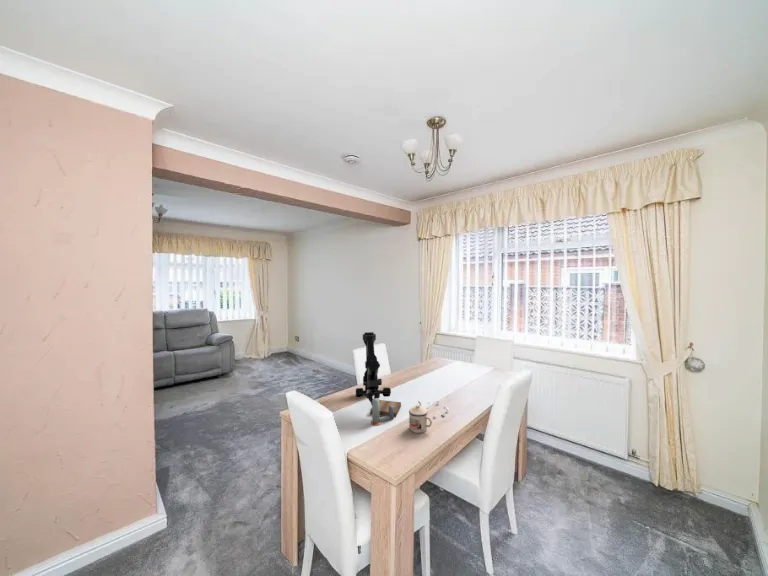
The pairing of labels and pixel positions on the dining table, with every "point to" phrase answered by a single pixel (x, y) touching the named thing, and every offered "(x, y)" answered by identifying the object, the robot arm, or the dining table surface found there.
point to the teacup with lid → (418, 419)
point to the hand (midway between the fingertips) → (373, 408)
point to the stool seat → (386, 409)
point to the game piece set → (437, 404)
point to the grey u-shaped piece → (376, 412)
